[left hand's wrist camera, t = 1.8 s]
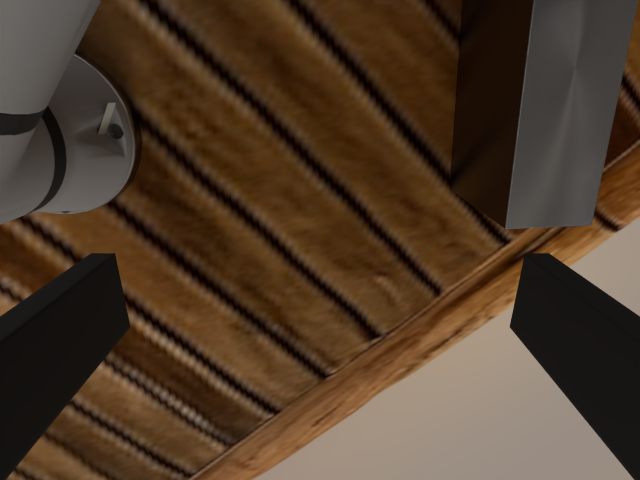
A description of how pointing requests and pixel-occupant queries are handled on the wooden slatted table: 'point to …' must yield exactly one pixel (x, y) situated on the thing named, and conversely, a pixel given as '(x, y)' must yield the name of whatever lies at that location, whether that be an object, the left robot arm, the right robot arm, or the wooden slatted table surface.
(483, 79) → the box
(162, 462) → the wooden slatted table surface
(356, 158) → the wooden slatted table surface
